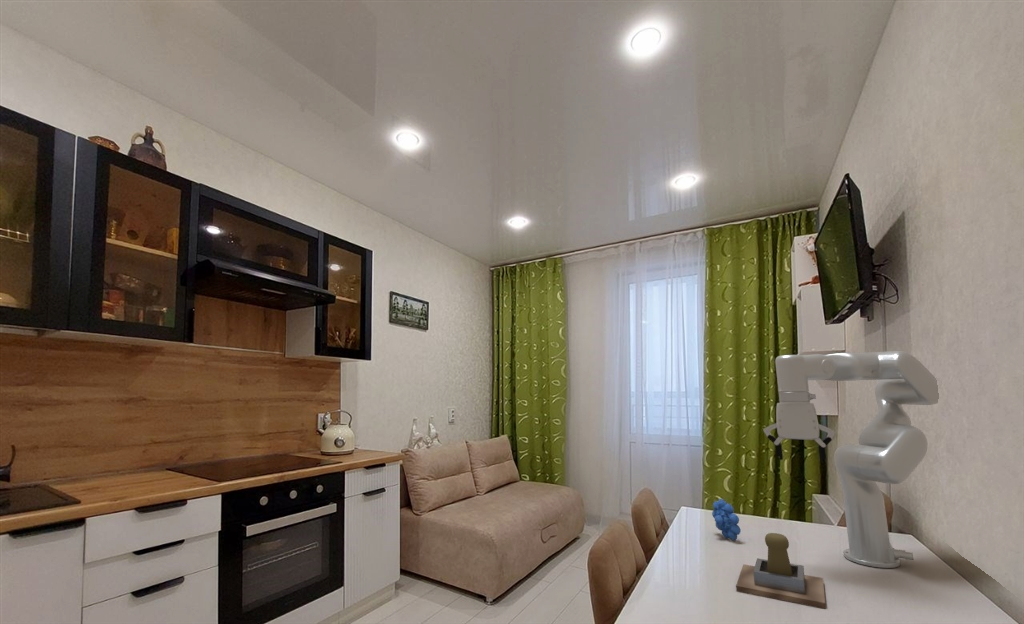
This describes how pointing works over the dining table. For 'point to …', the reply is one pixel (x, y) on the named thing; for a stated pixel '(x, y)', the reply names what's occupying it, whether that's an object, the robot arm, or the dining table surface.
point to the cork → (778, 554)
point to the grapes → (726, 519)
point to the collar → (779, 578)
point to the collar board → (811, 596)
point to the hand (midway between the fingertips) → (801, 460)
